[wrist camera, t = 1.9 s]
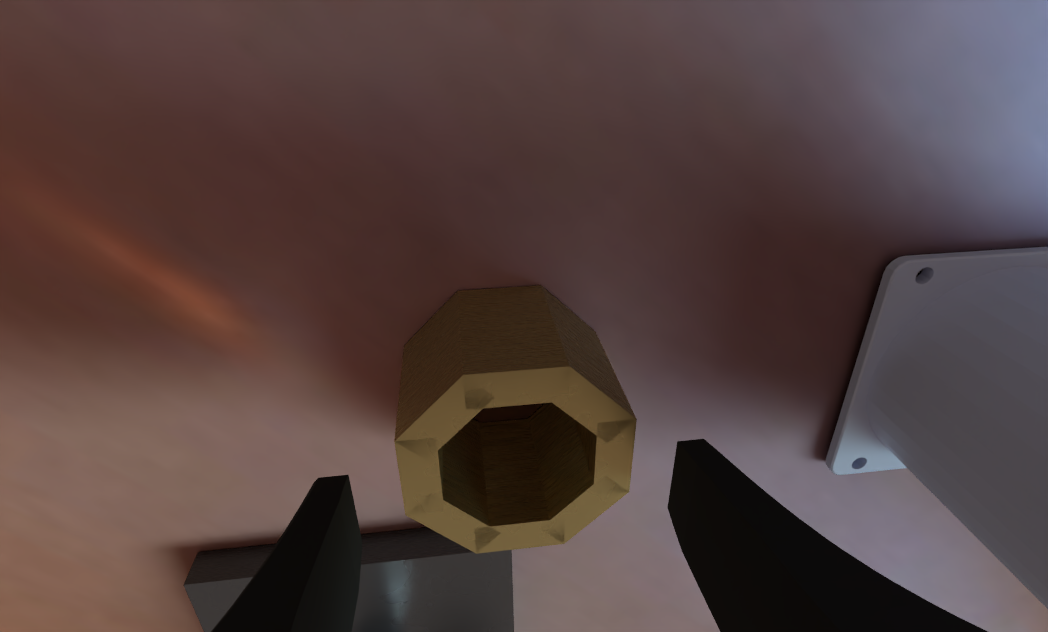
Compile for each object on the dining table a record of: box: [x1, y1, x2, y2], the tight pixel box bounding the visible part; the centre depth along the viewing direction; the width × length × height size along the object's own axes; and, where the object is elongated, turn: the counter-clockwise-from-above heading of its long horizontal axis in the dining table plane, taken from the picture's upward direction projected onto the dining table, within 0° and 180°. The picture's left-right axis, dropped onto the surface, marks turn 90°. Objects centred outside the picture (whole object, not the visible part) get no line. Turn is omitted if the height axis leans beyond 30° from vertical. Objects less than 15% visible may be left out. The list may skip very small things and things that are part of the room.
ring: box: [394, 285, 637, 554], centre depth 15 cm, size 5×5×4 cm
